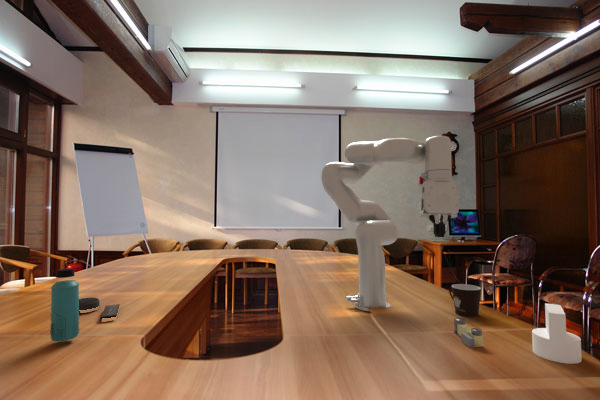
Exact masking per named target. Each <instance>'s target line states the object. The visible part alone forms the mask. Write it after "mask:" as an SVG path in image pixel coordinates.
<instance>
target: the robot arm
mask: <svg viewBox="0 0 600 400" xmlns="http://www.w3.org/2000/svg"><path fill="white" fill-rule="evenodd" d="M451 140H452V139H451V138H450V137H449V136H446V135H434V136H431V137H428V138H426V139H425V141H423V140H417V139H412V138H407V137H395V138H394V137H393V138H385V139H384V138H383V139H381V140H374V141H372V140H371V141H356V142H355V141H354V142H351V143H350V144H348V145H347V146H346V147H345V149H344V157H345V160H346V161H347V162H342V161H341V162H340V161H332V162H328V163H326V164H325V165H324V166H323V168H322V170H321V177H320V178H321V183H322V184H321V185H322V187H323V189H324V191H325V192H326V194H327V195H328V196H329V198H331V200H332V201H333V202H334V203H335V205H336V206H337V208H338V209H339V210H340V212H341V214H342V215H343V216H344V217H345V219H346V220H347V222H348V223H350V224H352V225H357V227H356V228H355V234H354V235H355V241H356V246H357V255H358V258H357V259H358V260H357V261H358V292H357V293H356V294H354V295H353V296H351V295H346V296H345V300H346V302H347V303H349V302H350V303H354V307H355V308H356V309H358V310H360V311H362V312H363V311H364V312H369V313H370V308H373V309H374V308H391V303H389V302H387V298H386V297H387V295H386V289H387V287H386V258H385V253H384V250H383V248H382V246H390V245H391V244H393V243H395V242H396V241H397V240H398V237H399V229H398V226H397V225H396V224H395V222H394V221H393V220H392V219H391V217H390V216H389V215H388V214H387V212H386V210H384V208H382V206H381V205H380V204H379V203H377V202H375V201H373V200H368V199H367V200H365V199H364V200H363V199H360V198H359V197H358V196H357V194H356V193H355V192H354V191H353V190H352V189H351V188H350V187H349V186H348V185H346V184H350V185H353V184H356V183H358V182H359V181H361V180H362V179H363V178H364V177H365V176H366V175H367V173H369V172H370V170H371V169H373V167H375V165H376V166H377V165H379V166H380V165H383V164H384V163H386V162H389V163H390V162H391V163H392V162H395V163H398V162H399V163H407V164H408V163H409V164H414V165H424V172H423V173H420V178H422V179H424V181H423V183H422V187H421V193H420V195H421V196H420V210H421V214H420V217H422V218H424V219H428V220H429V221H430V222H431V223H432V225H433V235H434V237H436V238H445V235H446V224H448V222H449V221H450V220H451V219H454V218H457V217H458V213H459V210H460V205H459V194H458V189H457V184H456V181H455V180H453V172H452V169H453V168H452V141H451ZM348 162H349V163H348Z"/></svg>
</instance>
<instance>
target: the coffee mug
mask: <svg viewBox="0 0 600 400" xmlns="http://www.w3.org/2000/svg"><path fill="white" fill-rule="evenodd" d="M481 291H482V287H480V286H477V285H473V284H465V283H460V284H459V283H457V284H452V285H451V286H450V287H449V291H448V292H449V296H450V298H451V299H452V302H453V305H454V312H455V314H456V315H457V316H461V317H467V318H475V317H479V312H480V300H481V294H482V293H481Z"/></svg>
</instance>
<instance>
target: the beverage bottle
mask: <svg viewBox="0 0 600 400" xmlns="http://www.w3.org/2000/svg"><path fill="white" fill-rule="evenodd" d="M73 277H75V270H74V268H71V267H69V268H66V267H65V268H58V269H57V270H56V274H55V278H56V279H63V280H59V281H56V282H55V283H54V284H52V286H50V289H51V300H50V301H51V303H50V331H49V332H50V336H49V337H50V339H51V341H52V342H64V341H69V340H72V339H75V338H77V337H78V336H79V334H80V315H81V314H80V311H79V308H80V307H79V306H80V305H79V299H80V296H79V295H80V291H79V290H80V287H79V286H80V284H79V282H77V281H76V280H74V279H65V280H64V278H73Z"/></svg>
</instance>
